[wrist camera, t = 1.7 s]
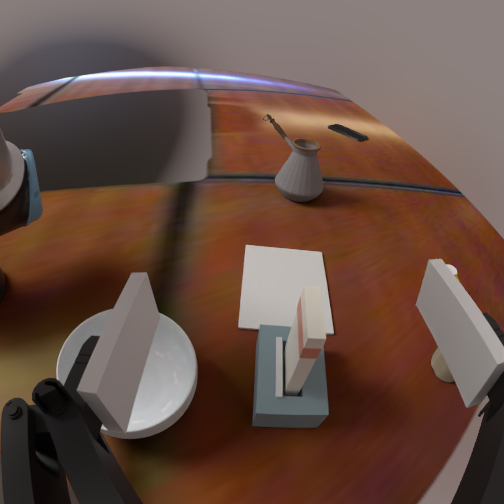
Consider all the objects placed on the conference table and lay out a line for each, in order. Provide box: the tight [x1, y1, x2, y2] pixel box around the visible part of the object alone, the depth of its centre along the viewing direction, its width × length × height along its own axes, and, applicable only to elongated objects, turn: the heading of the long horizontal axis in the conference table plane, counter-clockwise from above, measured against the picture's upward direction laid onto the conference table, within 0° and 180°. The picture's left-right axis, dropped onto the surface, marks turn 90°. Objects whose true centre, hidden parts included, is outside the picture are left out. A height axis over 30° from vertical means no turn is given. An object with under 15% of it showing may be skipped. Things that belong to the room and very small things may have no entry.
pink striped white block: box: [283, 286, 326, 397], centre depth 33 cm, size 6×2×15 cm, turn 177°
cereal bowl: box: [56, 309, 198, 439], centre depth 34 cm, size 17×17×7 cm
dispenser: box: [252, 324, 329, 428], centre depth 37 cm, size 12×8×5 cm, turn 177°
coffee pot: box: [263, 114, 324, 202], centre depth 72 cm, size 21×12×15 cm, turn 33°
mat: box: [238, 245, 334, 335], centre depth 52 cm, size 18×14×1 cm
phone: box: [328, 124, 368, 141], centre depth 113 cm, size 8×1×15 cm
